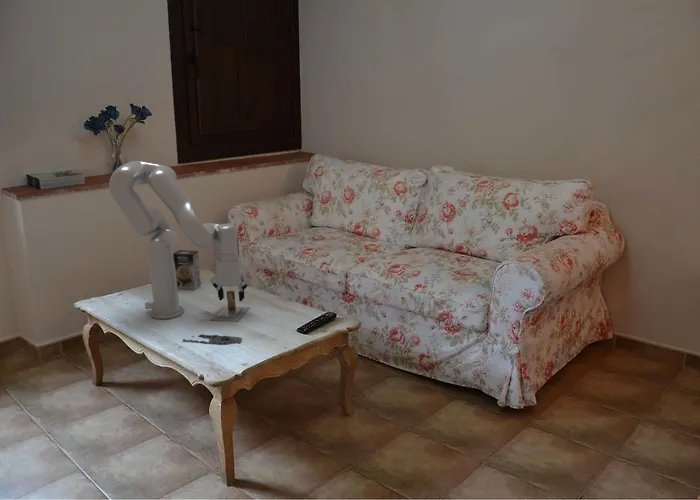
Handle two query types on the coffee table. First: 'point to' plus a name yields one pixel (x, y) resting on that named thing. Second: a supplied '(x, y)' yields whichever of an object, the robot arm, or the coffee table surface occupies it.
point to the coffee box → (187, 269)
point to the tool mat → (228, 318)
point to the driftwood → (217, 339)
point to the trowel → (230, 307)
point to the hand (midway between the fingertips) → (231, 299)
